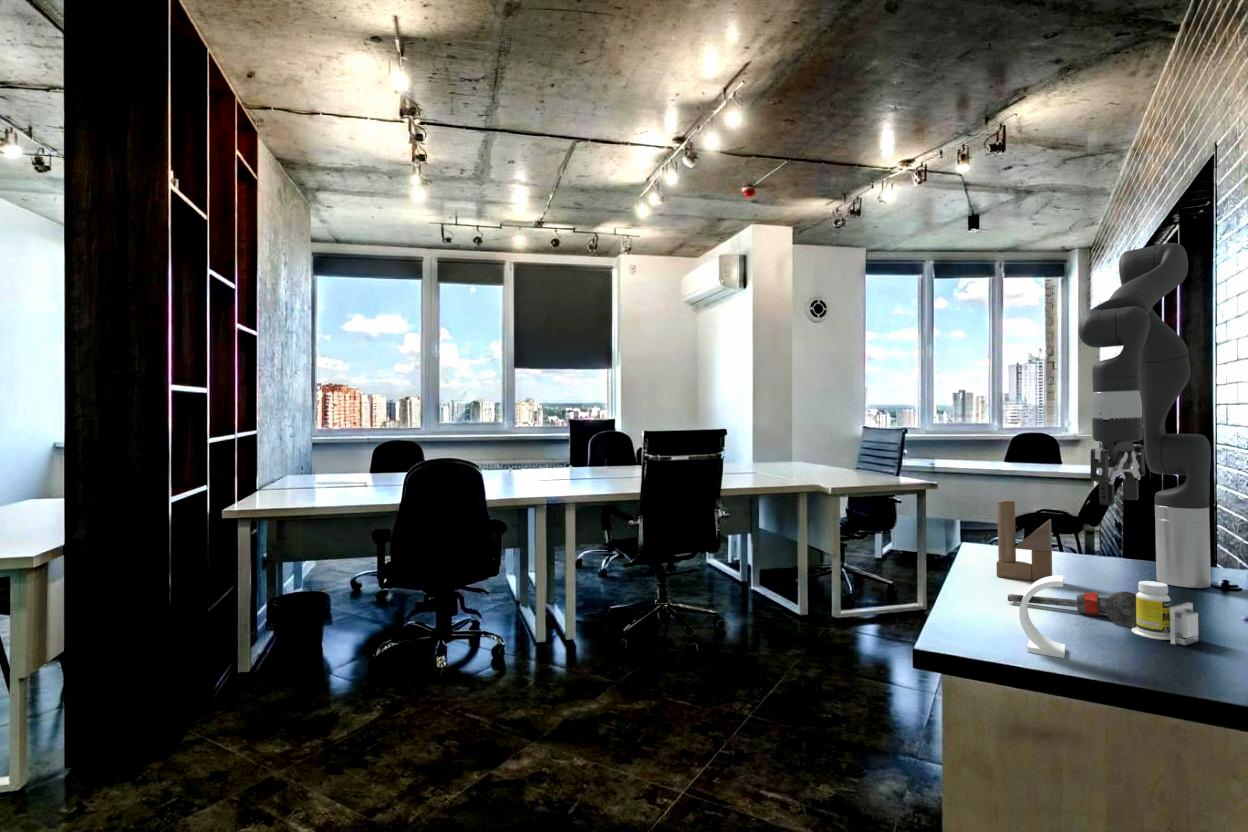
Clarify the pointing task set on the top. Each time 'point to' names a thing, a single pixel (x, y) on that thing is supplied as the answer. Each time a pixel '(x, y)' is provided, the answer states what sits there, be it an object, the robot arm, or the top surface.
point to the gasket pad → (1150, 635)
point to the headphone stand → (1036, 639)
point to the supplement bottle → (1153, 608)
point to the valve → (1095, 605)
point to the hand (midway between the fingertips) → (1119, 502)
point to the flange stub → (1183, 624)
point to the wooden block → (1022, 547)
